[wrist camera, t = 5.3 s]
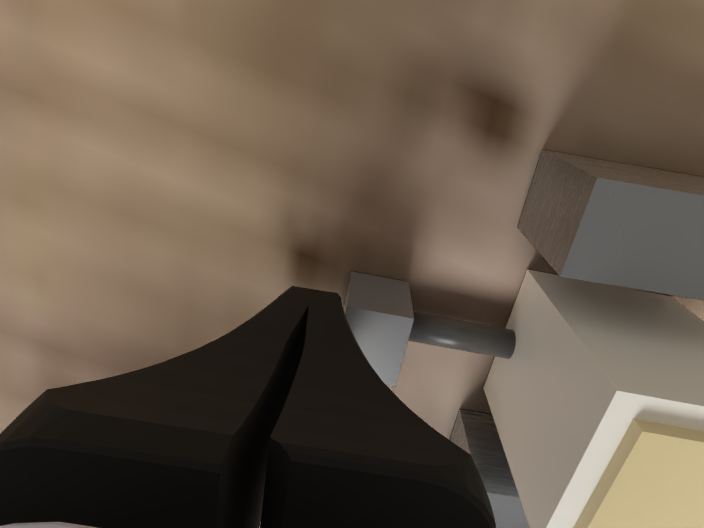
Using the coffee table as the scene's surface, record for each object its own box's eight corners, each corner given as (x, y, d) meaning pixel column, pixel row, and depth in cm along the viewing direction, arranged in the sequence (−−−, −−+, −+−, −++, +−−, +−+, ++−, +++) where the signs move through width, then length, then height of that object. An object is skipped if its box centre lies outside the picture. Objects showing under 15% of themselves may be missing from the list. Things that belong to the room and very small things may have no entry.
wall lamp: (333, 361, 14) (309, 522, 9) (358, 237, 12) (345, 352, 7) (611, 411, 14) (737, 595, 9) (671, 296, 12) (861, 445, 8)
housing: (444, 456, 15) (459, 544, 12) (542, 149, 11) (596, 177, 8) (653, 489, 15) (714, 584, 12) (824, 197, 11) (970, 240, 8)
